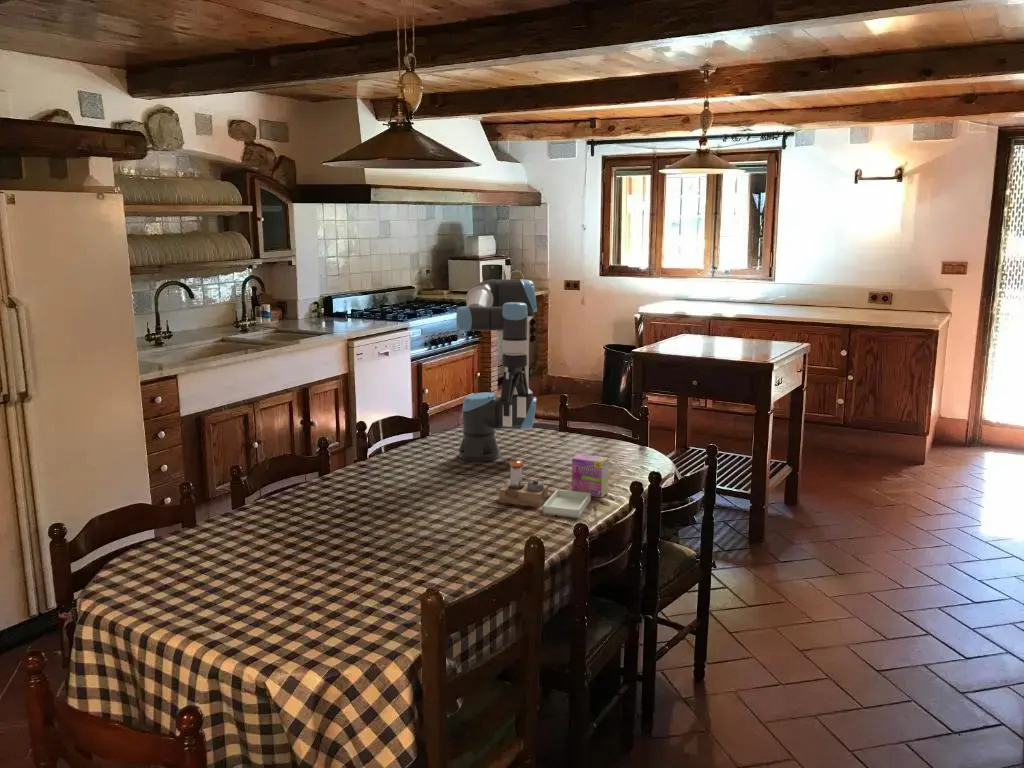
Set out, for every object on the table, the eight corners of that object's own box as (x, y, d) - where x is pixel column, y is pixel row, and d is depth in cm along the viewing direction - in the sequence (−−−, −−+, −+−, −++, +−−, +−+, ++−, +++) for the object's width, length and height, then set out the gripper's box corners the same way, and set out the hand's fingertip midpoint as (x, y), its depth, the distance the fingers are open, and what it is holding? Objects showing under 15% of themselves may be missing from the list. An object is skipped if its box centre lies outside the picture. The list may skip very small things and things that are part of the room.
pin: (511, 496, 259) (511, 459, 256) (524, 497, 257) (524, 460, 255) (507, 500, 255) (507, 462, 252) (520, 502, 253) (520, 464, 251)
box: (571, 493, 262) (571, 457, 259) (578, 488, 267) (578, 453, 264) (601, 498, 257) (602, 462, 255) (608, 493, 262) (609, 457, 260)
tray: (556, 496, 258) (556, 489, 258) (590, 500, 255) (591, 493, 254) (542, 514, 243) (542, 506, 243) (578, 518, 240) (578, 510, 239)
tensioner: (508, 493, 262) (508, 473, 260) (547, 497, 257) (548, 477, 256) (499, 502, 253) (499, 481, 252) (539, 507, 249) (539, 486, 248)
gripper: (516, 347, 262) (515, 412, 266) (488, 358, 239) (489, 429, 243) (538, 349, 260) (538, 414, 264) (513, 359, 237) (513, 431, 240)
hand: (514, 421), depth 253 cm, fingers open, 13 cm apart
